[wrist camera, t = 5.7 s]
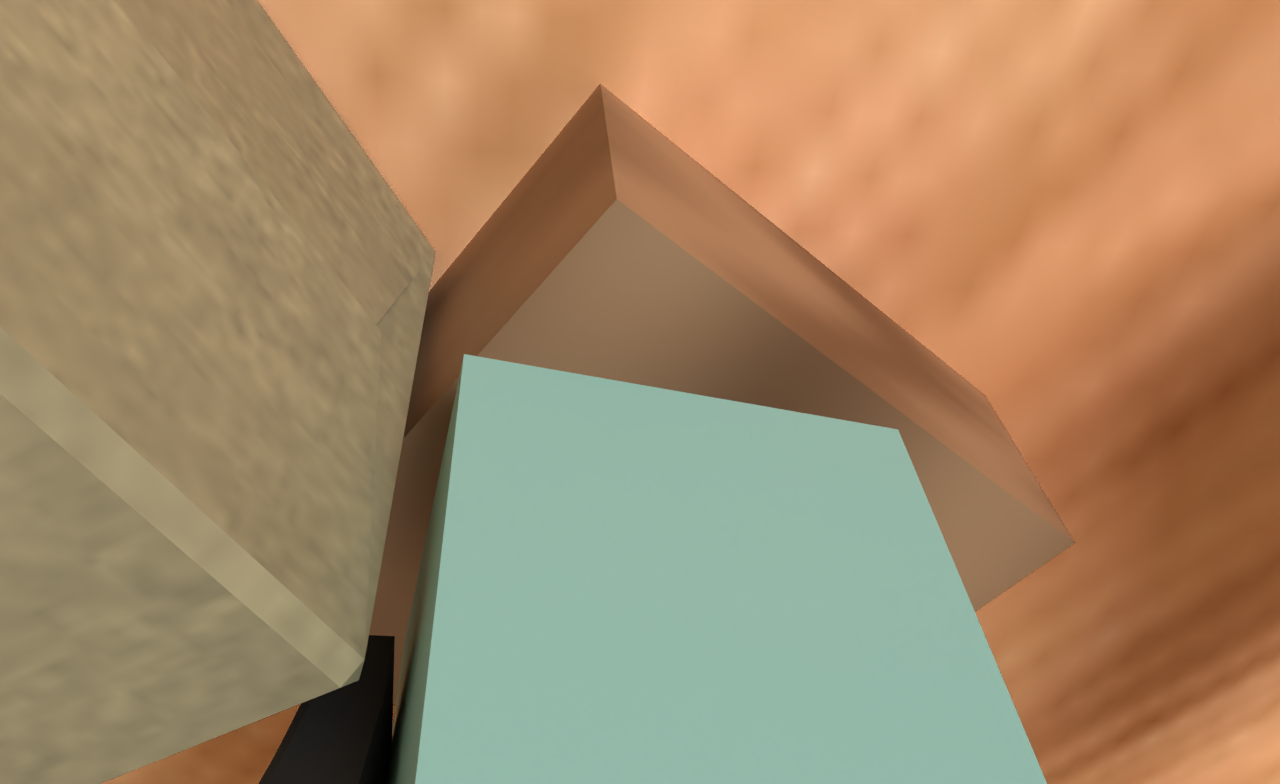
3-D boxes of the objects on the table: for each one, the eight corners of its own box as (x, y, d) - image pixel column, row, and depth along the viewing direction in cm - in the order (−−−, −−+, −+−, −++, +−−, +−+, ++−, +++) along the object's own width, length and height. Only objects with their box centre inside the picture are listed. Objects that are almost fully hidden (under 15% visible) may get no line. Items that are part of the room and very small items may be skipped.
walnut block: (979, 385, 18) (1075, 543, 15) (656, 646, 21) (676, 817, 18) (599, 76, 14) (616, 199, 11) (283, 461, 18) (225, 638, 14)
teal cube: (897, 429, 11) (1082, 867, 7) (751, 682, 14) (827, 1088, 10) (463, 354, 10) (410, 823, 6) (403, 645, 13) (342, 1083, 9)
